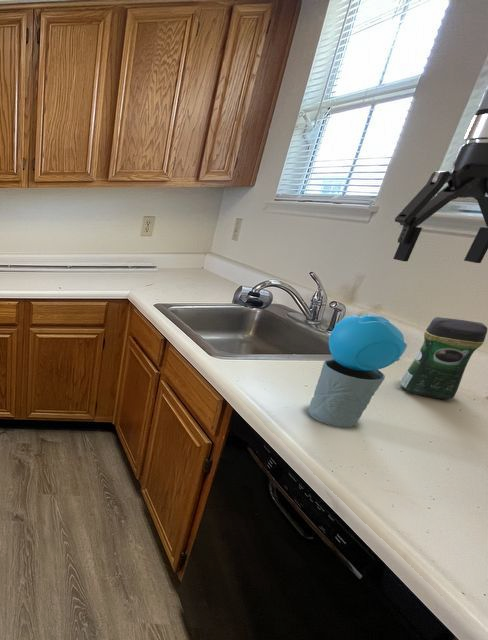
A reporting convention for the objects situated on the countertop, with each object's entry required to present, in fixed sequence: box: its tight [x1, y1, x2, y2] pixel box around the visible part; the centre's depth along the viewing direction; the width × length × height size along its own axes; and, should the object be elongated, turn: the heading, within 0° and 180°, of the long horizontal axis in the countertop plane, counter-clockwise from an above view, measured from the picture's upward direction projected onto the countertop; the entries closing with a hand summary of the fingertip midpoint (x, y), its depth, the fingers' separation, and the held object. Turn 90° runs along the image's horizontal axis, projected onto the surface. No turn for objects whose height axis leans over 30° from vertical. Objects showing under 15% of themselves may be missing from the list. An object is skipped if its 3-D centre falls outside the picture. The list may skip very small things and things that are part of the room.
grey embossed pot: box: [307, 358, 386, 428], centre depth 89 cm, size 10×10×12 cm
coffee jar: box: [400, 316, 488, 400], centre depth 99 cm, size 10×8×19 cm
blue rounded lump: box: [328, 313, 408, 371], centre depth 84 cm, size 12×11×12 cm
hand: (435, 261), depth 85 cm, fingers open, 13 cm apart
